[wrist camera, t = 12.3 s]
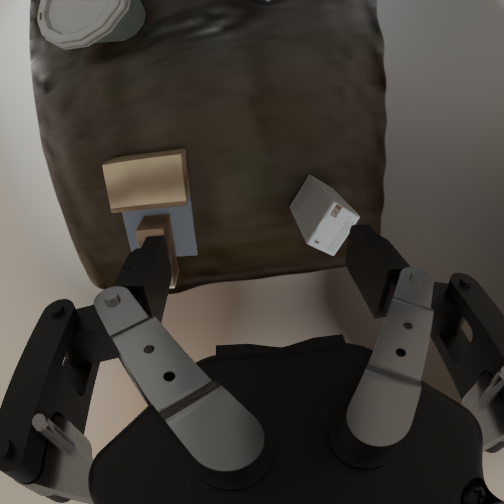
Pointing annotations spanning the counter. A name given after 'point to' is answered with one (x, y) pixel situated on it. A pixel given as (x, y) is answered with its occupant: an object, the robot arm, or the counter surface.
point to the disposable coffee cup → (89, 21)
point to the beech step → (147, 181)
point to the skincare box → (322, 215)
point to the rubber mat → (179, 223)
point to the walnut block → (156, 227)
